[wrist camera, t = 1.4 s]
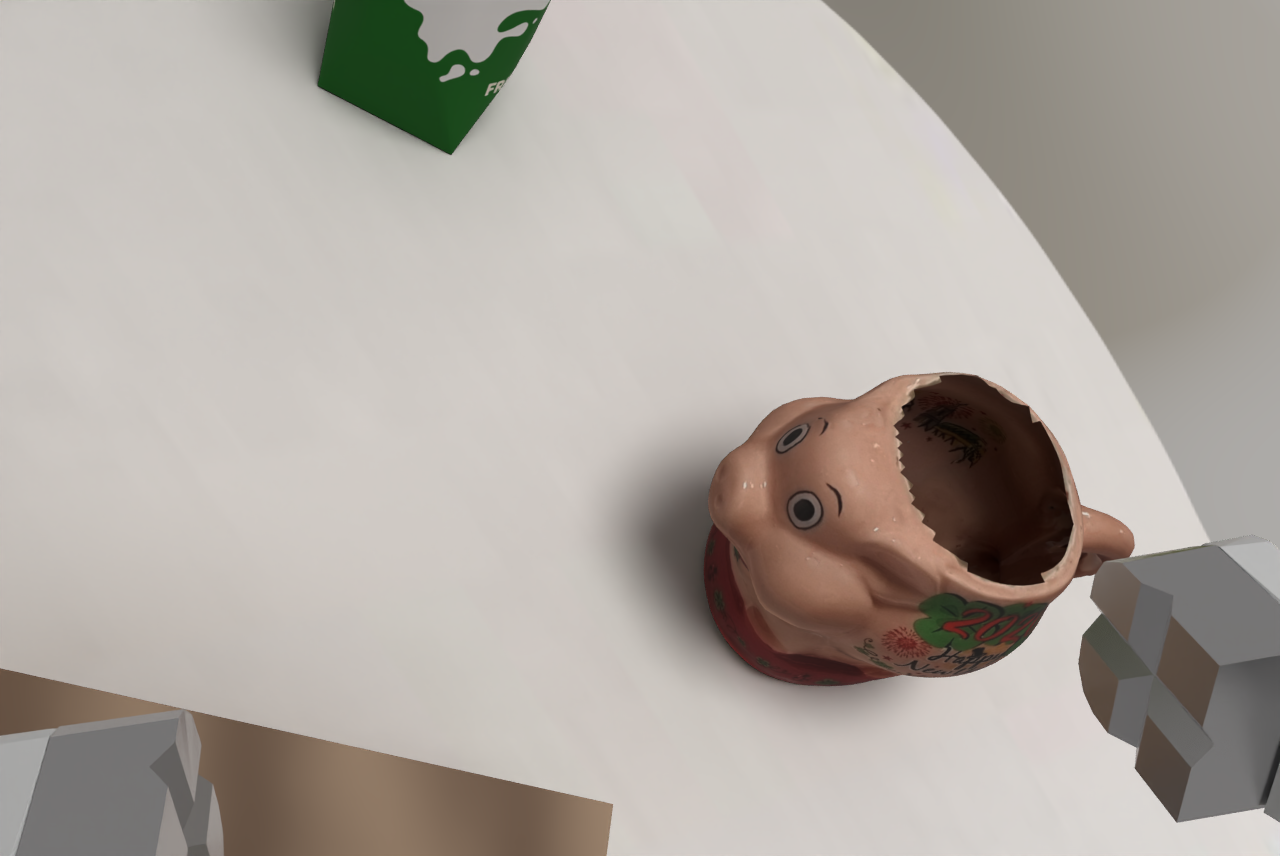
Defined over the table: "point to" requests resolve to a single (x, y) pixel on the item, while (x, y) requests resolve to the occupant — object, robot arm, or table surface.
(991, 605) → the pink ceramic mug
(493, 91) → the milk carton
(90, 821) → the robot arm
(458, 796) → the toolbox
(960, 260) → the table surface
